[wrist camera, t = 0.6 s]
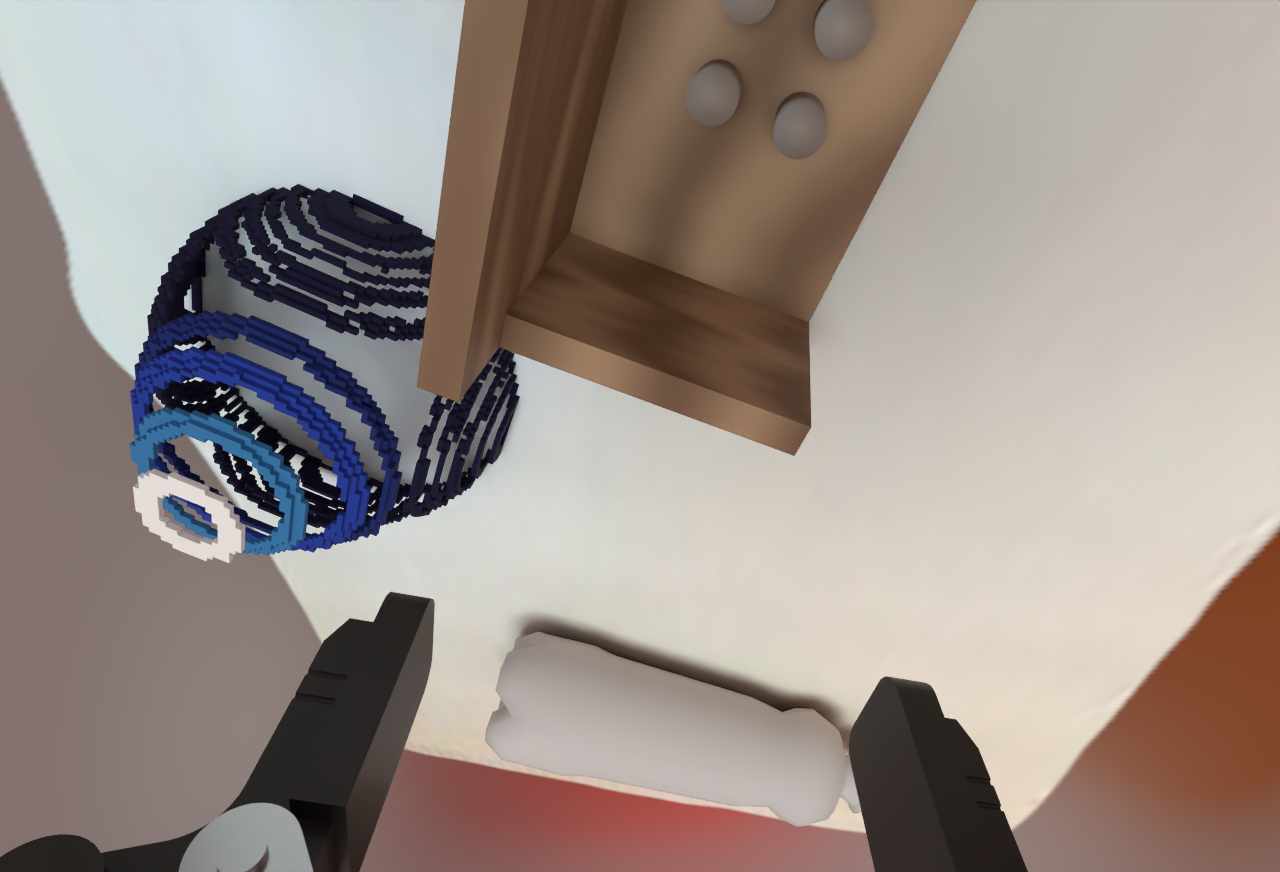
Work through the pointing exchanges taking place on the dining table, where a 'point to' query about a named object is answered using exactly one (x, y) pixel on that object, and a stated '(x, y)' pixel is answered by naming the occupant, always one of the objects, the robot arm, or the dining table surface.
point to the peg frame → (668, 190)
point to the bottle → (664, 732)
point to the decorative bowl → (290, 387)
